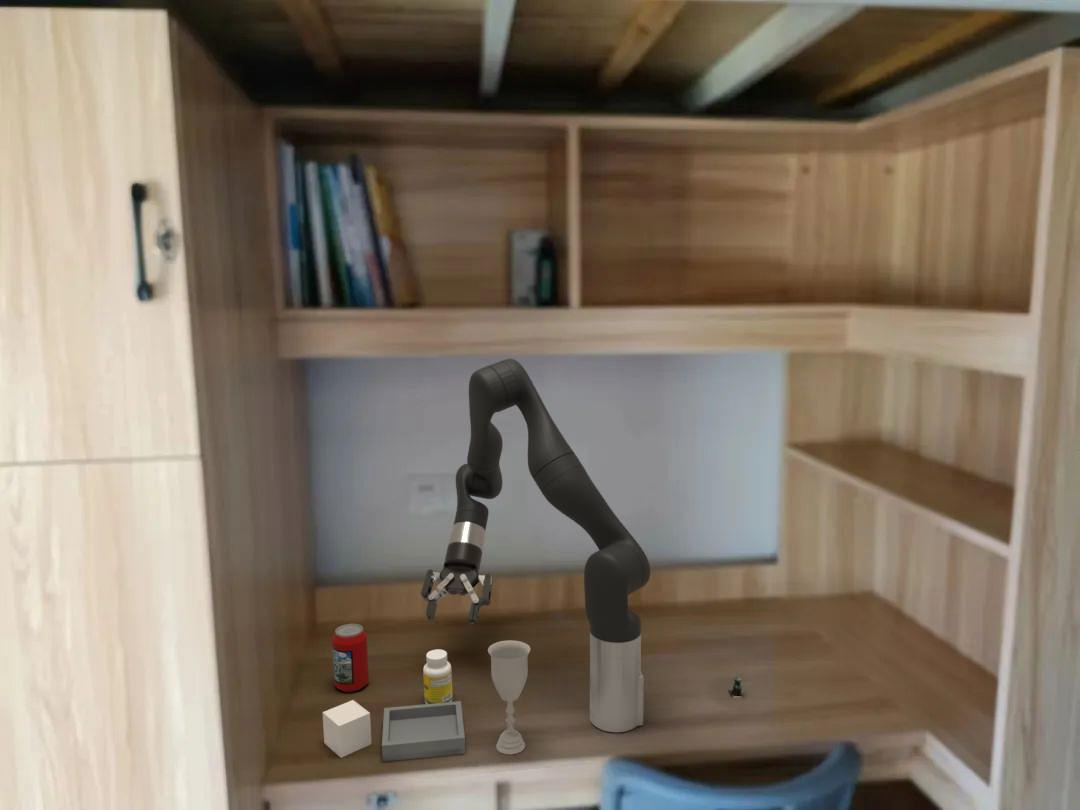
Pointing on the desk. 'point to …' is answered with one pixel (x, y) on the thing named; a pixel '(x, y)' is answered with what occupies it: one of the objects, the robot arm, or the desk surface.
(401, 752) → the tray
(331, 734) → the white cube
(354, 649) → the beverage can
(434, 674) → the supplement bottle
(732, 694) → the sculpture
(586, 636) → the desk surface
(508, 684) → the chalice
